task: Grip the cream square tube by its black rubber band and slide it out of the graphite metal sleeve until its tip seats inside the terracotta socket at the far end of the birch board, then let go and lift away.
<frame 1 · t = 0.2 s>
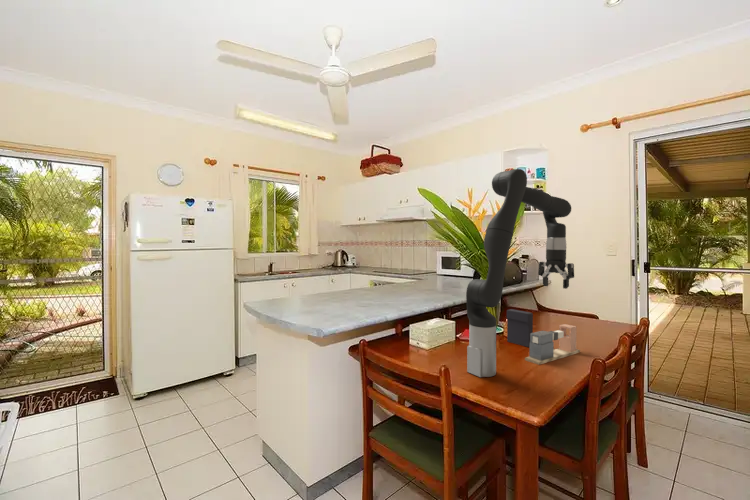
hand: (555, 287, 147), 27 cm above the table, tool pointing down, fingers open, 8 cm apart
socket: (567, 351, 148), resting on base board
base board: (553, 356, 143), on the table
sleeve: (541, 359, 139), resting on base board
slip tube: (548, 336, 141), point 8 cm above the table, slide at 0.0 cm
dark gray lidded box: (519, 344, 160), on the table
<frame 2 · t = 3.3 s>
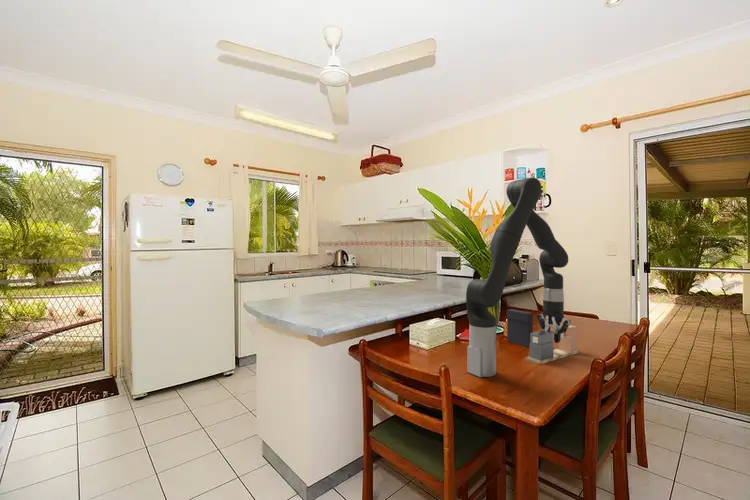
hand: (552, 341, 142), 6 cm above the table, tool pointing down, fingers closed on slip tube, 3 cm apart
slip tube: (548, 336, 141), point 8 cm above the table, slide at 0.0 cm, touching gripper
everything else where it was.
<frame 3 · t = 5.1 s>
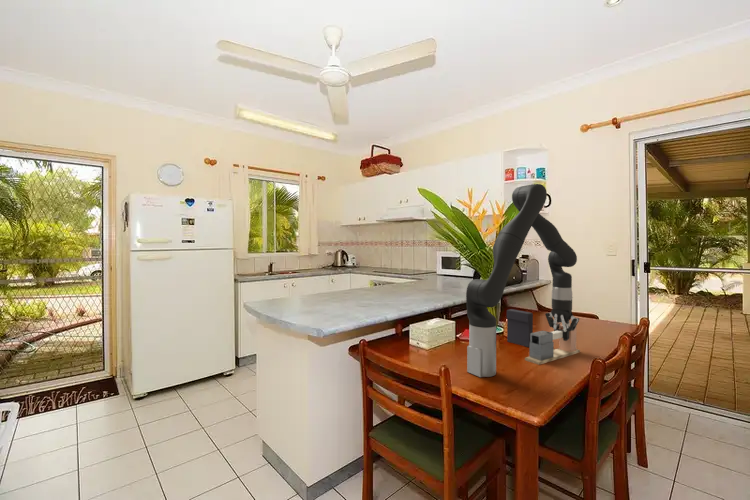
hand: (561, 339, 145), 6 cm above the table, tool pointing down, fingers closed on slip tube, 3 cm apart
slip tube: (557, 334, 144), point 8 cm above the table, slide at 6.0 cm, touching gripper
everything else where it was.
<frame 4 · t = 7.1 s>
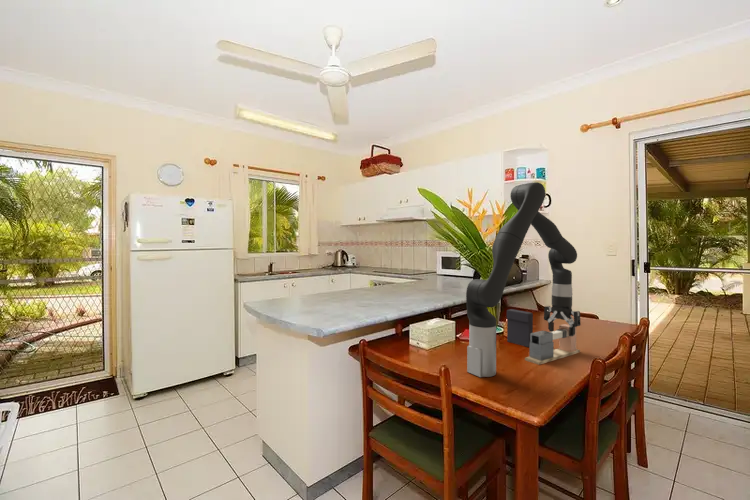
hand: (561, 333, 145), 8 cm above the table, tool pointing down, fingers open, 8 cm apart
slip tube: (557, 334, 144), point 8 cm above the table, slide at 6.0 cm
everything else where it was.
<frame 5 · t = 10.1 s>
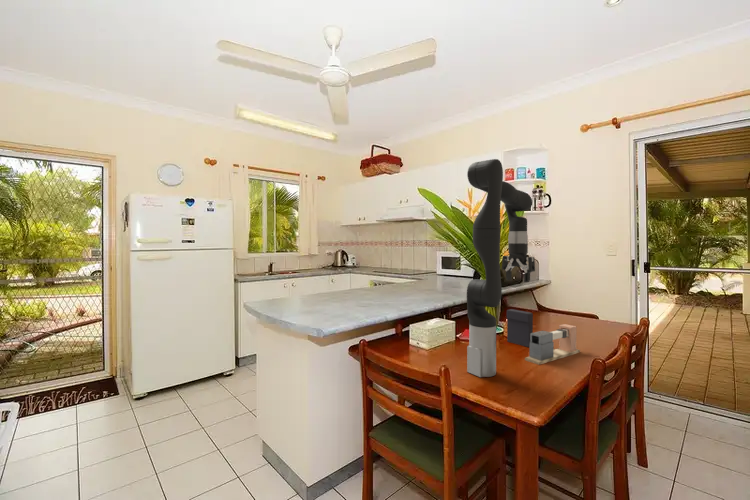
hand: (517, 281, 147), 30 cm above the table, tool pointing down, fingers open, 8 cm apart
nothing on the table moved.
at the end: slip tube slide at 6.0 cm; the gripper is holding nothing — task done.
